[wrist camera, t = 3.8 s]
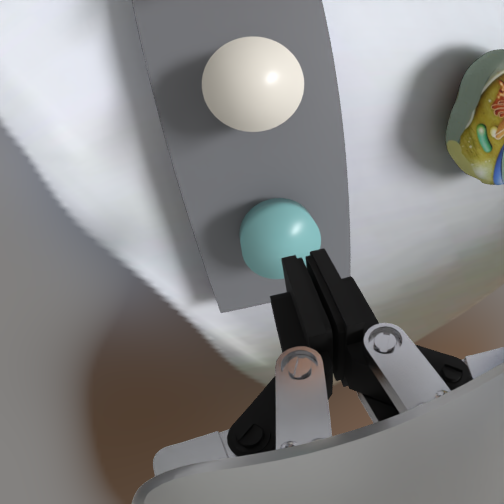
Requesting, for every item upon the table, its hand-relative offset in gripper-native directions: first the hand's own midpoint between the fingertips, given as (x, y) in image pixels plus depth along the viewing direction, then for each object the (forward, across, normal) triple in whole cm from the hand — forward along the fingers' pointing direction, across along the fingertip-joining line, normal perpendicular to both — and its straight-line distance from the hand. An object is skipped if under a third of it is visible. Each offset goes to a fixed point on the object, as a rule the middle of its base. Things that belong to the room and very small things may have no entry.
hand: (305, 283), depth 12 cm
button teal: (+7, 0, +2) cm, 7 cm away
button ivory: (+7, 0, -7) cm, 10 cm away
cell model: (+10, -21, -4) cm, 23 cm away
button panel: (+10, 0, -7) cm, 12 cm away
